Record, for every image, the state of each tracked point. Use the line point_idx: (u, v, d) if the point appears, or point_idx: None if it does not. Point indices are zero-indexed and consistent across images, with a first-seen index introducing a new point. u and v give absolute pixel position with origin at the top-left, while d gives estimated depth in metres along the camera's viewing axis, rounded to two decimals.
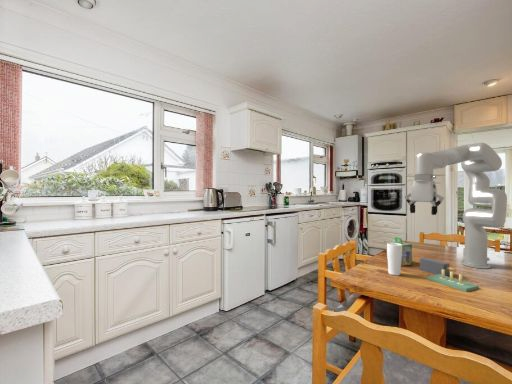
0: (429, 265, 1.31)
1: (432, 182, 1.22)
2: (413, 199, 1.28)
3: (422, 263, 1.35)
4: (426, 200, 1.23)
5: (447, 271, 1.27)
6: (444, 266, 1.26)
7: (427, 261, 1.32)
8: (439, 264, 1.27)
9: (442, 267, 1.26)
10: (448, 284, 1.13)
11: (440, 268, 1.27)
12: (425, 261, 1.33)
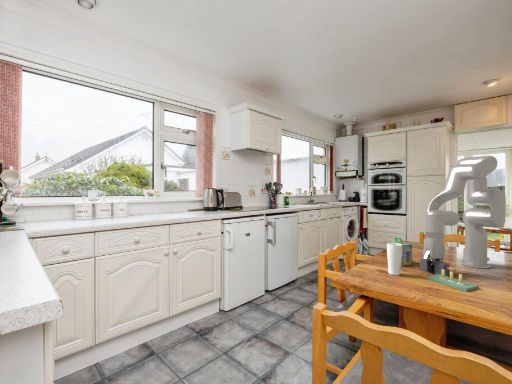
0: None
1: None
2: (433, 257, 1.28)
3: (422, 263, 1.35)
4: (441, 257, 1.31)
5: (447, 271, 1.27)
6: (444, 266, 1.26)
7: None
8: (439, 264, 1.27)
9: (442, 267, 1.26)
10: (448, 284, 1.13)
11: (440, 268, 1.27)
12: (425, 261, 1.33)
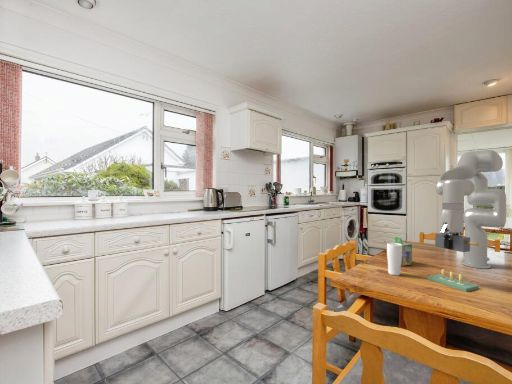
0: None
1: None
2: (452, 231, 1.13)
3: (438, 239, 1.19)
4: (460, 231, 1.15)
5: (467, 246, 1.11)
6: (464, 240, 1.10)
7: None
8: (458, 238, 1.11)
9: (462, 241, 1.10)
10: (448, 284, 1.13)
11: (460, 243, 1.11)
12: (441, 236, 1.18)
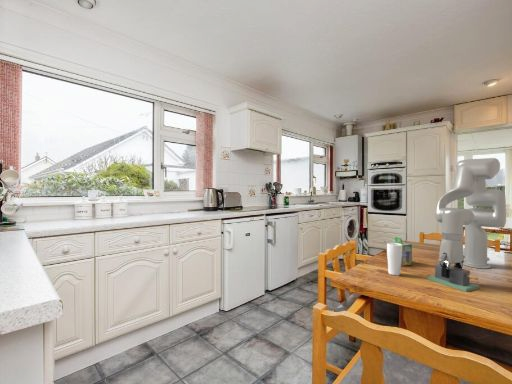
0: None
1: None
2: (452, 262, 1.13)
3: (438, 270, 1.19)
4: (460, 261, 1.15)
5: (467, 280, 1.11)
6: (464, 274, 1.10)
7: None
8: (458, 272, 1.12)
9: (462, 275, 1.10)
10: (448, 284, 1.13)
11: (459, 276, 1.11)
12: None
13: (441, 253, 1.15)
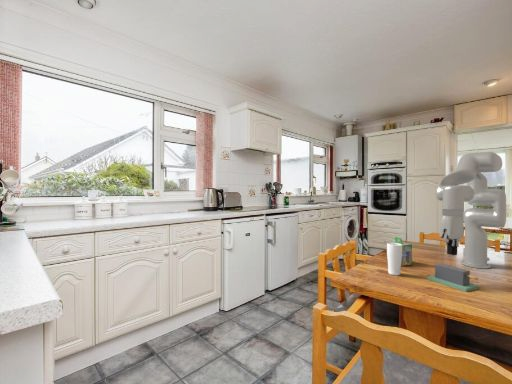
0: (446, 272, 1.16)
1: None
2: (452, 237, 1.13)
3: (438, 270, 1.19)
4: (460, 237, 1.15)
5: (467, 280, 1.11)
6: (464, 274, 1.10)
7: (444, 268, 1.17)
8: (458, 272, 1.12)
9: (462, 275, 1.10)
10: (448, 284, 1.13)
11: (459, 276, 1.11)
12: (441, 268, 1.18)
13: (441, 229, 1.15)
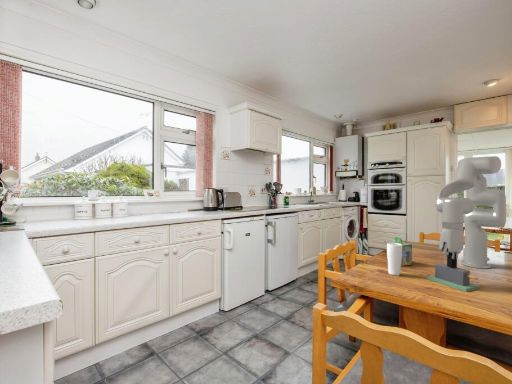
0: (446, 272, 1.16)
1: None
2: (452, 250, 1.13)
3: (438, 270, 1.19)
4: (460, 250, 1.15)
5: (467, 280, 1.11)
6: (464, 274, 1.10)
7: (444, 268, 1.17)
8: (458, 272, 1.12)
9: (462, 275, 1.10)
10: (448, 284, 1.13)
11: (459, 276, 1.11)
12: (441, 268, 1.18)
13: (441, 242, 1.15)
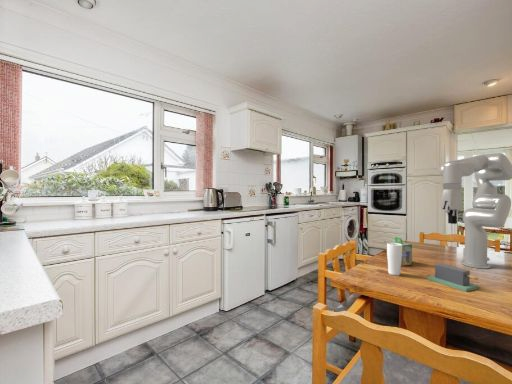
0: (446, 272, 1.16)
1: None
2: (452, 208, 1.27)
3: (438, 270, 1.19)
4: (459, 207, 1.30)
5: (467, 280, 1.11)
6: (464, 274, 1.10)
7: (444, 268, 1.17)
8: (458, 272, 1.12)
9: (462, 275, 1.10)
10: (448, 284, 1.13)
11: (459, 276, 1.11)
12: (441, 268, 1.18)
13: (443, 201, 1.30)
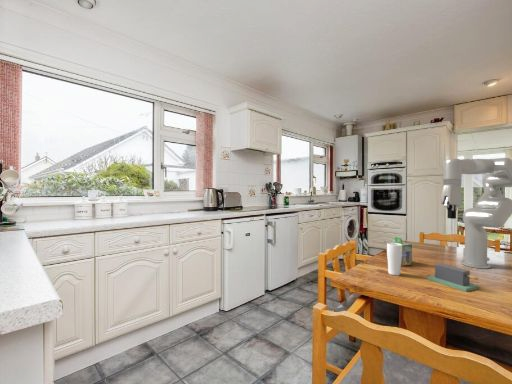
0: (446, 272, 1.16)
1: None
2: (452, 203, 1.32)
3: (438, 270, 1.19)
4: (459, 203, 1.34)
5: (467, 280, 1.11)
6: (464, 274, 1.10)
7: (444, 268, 1.17)
8: (458, 272, 1.12)
9: (462, 275, 1.10)
10: (448, 284, 1.13)
11: (459, 276, 1.11)
12: (441, 268, 1.18)
13: (442, 196, 1.34)
